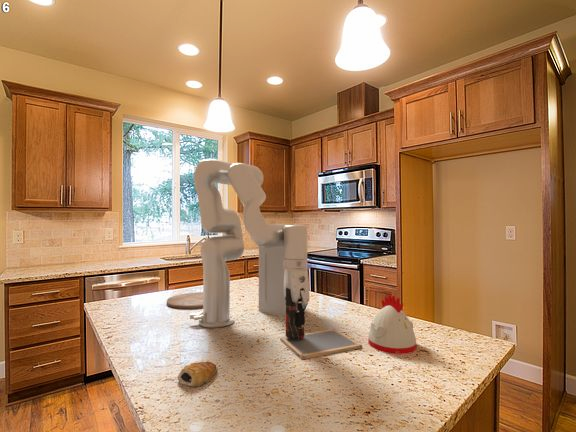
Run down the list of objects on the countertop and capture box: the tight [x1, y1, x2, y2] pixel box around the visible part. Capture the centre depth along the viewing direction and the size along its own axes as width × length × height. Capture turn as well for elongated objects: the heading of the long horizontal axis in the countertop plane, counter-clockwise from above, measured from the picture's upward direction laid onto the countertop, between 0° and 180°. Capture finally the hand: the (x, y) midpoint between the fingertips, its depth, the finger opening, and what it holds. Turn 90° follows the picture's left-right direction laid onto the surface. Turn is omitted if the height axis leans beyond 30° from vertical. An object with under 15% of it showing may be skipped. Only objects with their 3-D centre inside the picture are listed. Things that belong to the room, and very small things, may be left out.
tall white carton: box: [258, 246, 286, 318], centre depth 134 cm, size 19×15×28 cm
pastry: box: [177, 360, 218, 388], centre depth 77 cm, size 9×7×4 cm
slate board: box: [280, 328, 363, 360], centre depth 98 cm, size 20×15×1 cm
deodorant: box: [285, 288, 305, 339], centre depth 100 cm, size 6×6×15 cm
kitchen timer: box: [368, 294, 417, 355], centre depth 98 cm, size 14×14×15 cm
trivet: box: [166, 291, 203, 310], centre depth 148 cm, size 25×25×2 cm
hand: (295, 321), depth 100 cm, fingers closed on deodorant, 5 cm apart
